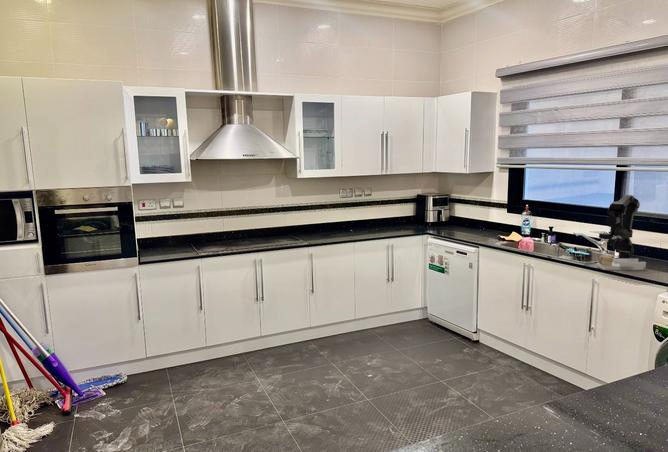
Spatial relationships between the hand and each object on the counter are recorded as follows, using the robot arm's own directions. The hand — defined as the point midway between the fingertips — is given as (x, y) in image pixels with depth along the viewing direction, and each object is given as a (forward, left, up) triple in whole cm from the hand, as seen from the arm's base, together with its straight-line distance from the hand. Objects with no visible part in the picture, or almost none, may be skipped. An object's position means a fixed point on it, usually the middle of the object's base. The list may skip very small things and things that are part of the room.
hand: (614, 249), depth 270 cm
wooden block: (0, -4, -9) cm, 10 cm away
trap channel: (0, +4, -11) cm, 12 cm away
